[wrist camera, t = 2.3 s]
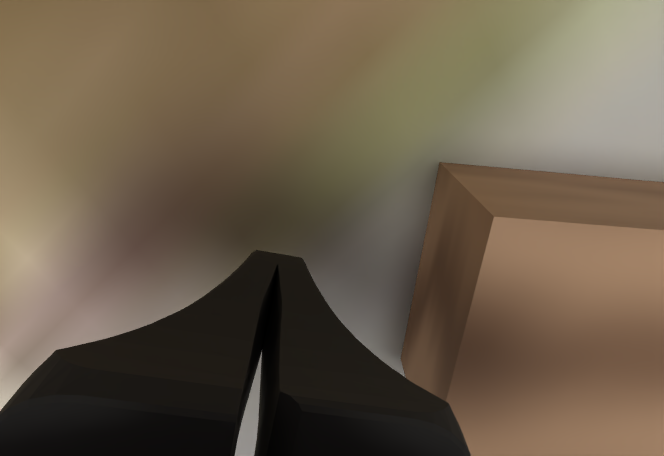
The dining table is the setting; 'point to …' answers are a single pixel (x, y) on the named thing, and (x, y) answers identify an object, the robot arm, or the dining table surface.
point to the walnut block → (543, 311)
